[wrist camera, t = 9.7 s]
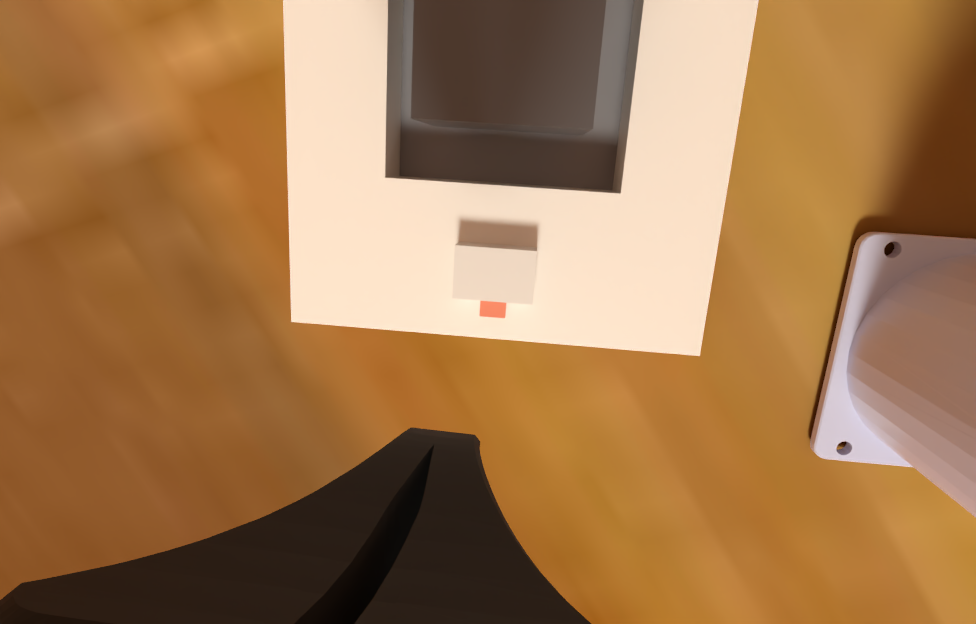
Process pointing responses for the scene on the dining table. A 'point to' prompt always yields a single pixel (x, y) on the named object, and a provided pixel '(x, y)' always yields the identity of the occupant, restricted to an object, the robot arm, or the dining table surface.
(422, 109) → the plug
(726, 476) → the dining table surface
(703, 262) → the socket plate
